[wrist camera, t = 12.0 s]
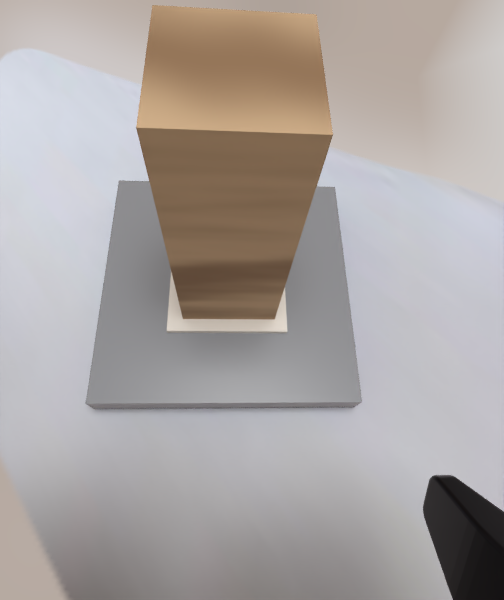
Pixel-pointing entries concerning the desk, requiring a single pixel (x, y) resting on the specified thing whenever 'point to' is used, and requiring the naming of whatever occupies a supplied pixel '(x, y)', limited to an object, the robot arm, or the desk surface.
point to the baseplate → (221, 326)
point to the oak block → (232, 150)
